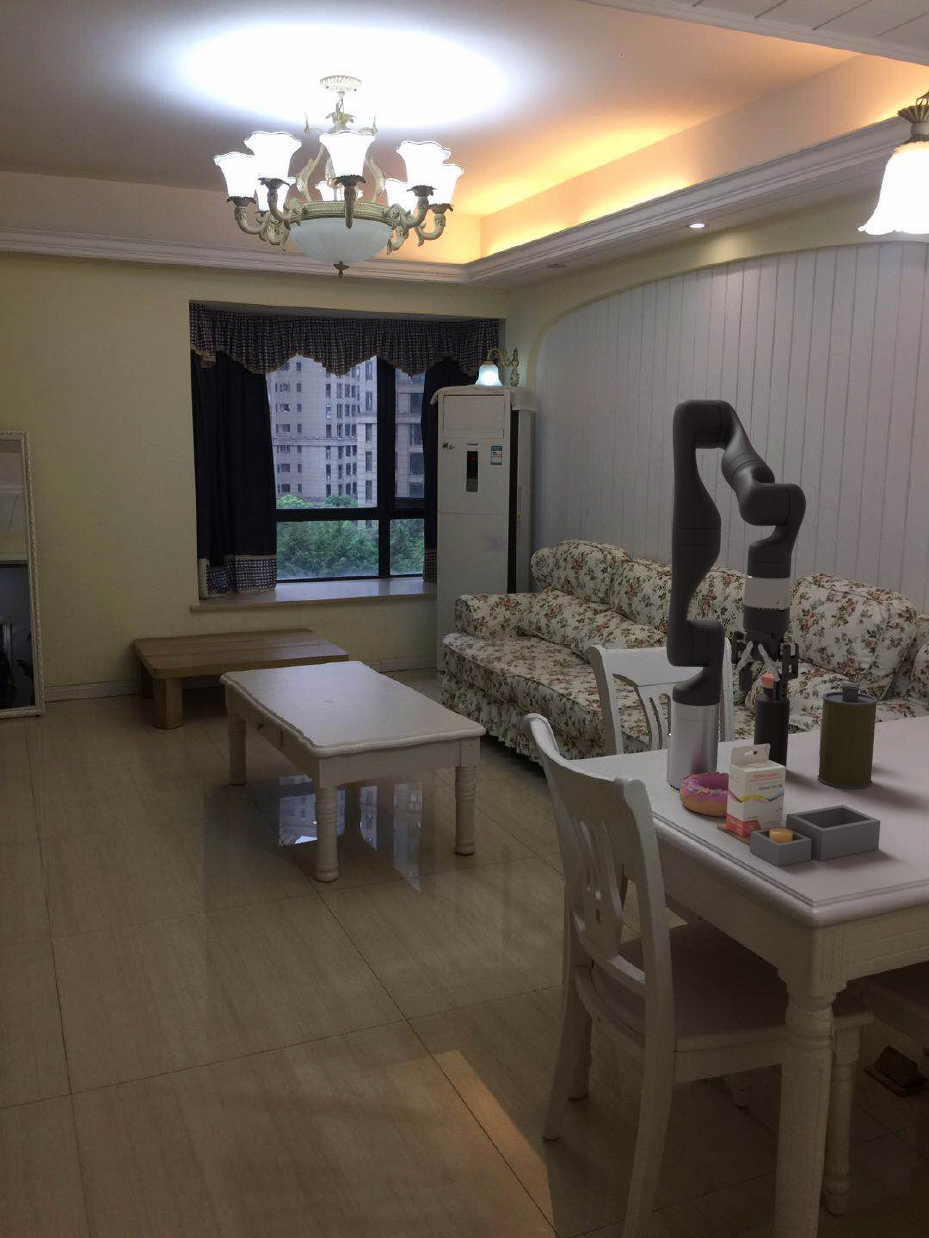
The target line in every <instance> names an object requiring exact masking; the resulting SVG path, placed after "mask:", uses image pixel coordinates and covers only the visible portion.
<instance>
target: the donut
mask: <svg viewBox="0 0 929 1238" xmlns="http://www.w3.org/2000/svg"><path fill="white" fill-rule="evenodd" d="M728 784H729V772H720V771H717V772H712V773H709V772H705V773H702V774H701V773H695V774H692V775H691V776H690V775H688V776H686V777H685V778H684V779H683V782H682V784H681V786H680V789H679V797H680V802H681V803H682V805H683V806H684V807H686V808H687V809H689V810H690V811H692V812H695V813H697V812H698V813H697V814H700V815H704V816H705V815H706V816H711V817H721V818H727V801H728Z"/></svg>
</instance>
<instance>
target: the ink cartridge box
mask: <svg viewBox="0 0 929 1238" xmlns="http://www.w3.org/2000/svg"><path fill="white" fill-rule="evenodd" d="M769 750H770V744H760V745H754V744H753V745H752V744H751V745H750V744H749V745H744V746H736V747H735V746H734V747H733V748H732V750H731V756H730V764H729V769H728V770H729V772H728V774H729V784H728V801H727V817H725V818H726V822H725V823H726V828H728V829H729V830H731V831H733V832H735V833H736V834H738V835H740V836H742V837H744V836H751V832H752V831H757V830H763V829H768V828H774V827H780V826H783V815H784V814H783V813H784V799H785V785H786V771H787V766H786V767H785V766H783V765H780V764H778V763H775V762H773V761H771V760H768V758H769ZM750 751H752V752H753V751H757V754H755V755H753V754H749V755H748V754H747V755H745V753H749V752H750Z"/></svg>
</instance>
